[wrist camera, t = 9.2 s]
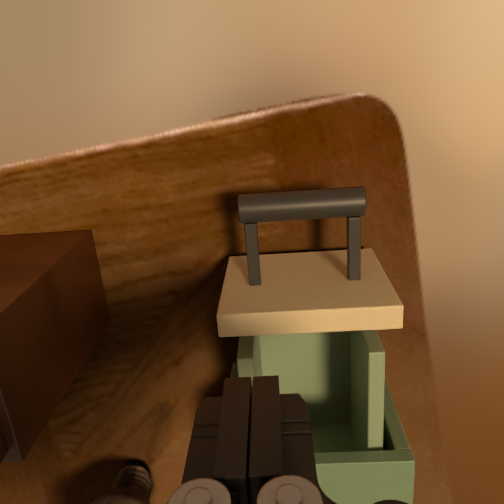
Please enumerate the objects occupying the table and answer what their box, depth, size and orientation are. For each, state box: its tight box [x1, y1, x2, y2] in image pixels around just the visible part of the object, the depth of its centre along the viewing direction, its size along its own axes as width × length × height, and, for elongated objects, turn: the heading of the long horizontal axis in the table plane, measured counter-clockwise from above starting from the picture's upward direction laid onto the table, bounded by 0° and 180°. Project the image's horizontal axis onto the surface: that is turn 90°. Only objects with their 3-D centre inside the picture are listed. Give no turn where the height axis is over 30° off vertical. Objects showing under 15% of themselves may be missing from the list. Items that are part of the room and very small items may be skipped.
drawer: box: [216, 186, 403, 453], centre depth 26 cm, size 17×8×7 cm, turn 4°
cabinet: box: [231, 363, 415, 504], centre depth 30 cm, size 14×10×9 cm
